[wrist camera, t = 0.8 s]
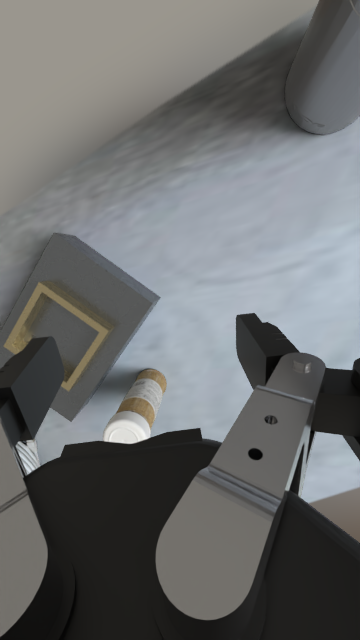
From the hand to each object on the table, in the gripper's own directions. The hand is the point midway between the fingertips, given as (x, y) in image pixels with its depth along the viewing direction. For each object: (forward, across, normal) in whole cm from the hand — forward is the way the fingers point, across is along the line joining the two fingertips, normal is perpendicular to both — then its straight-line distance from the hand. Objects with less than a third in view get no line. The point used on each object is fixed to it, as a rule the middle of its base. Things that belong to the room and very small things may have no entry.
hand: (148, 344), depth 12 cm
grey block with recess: (+26, +13, +11) cm, 31 cm away
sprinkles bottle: (+23, +3, +19) cm, 30 cm away
